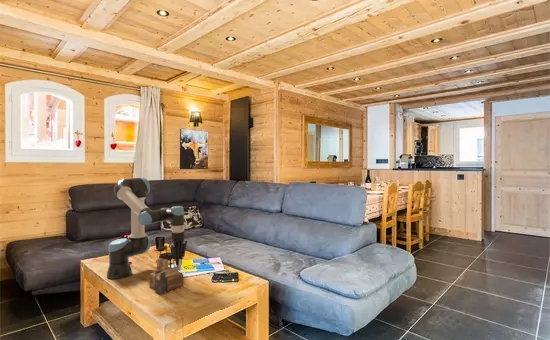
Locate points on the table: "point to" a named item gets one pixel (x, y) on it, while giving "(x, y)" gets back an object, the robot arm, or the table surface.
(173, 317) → the table surface
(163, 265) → the lid
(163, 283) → the toolbox
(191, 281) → the table surface
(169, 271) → the wooden stick
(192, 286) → the table surface
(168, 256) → the music box
